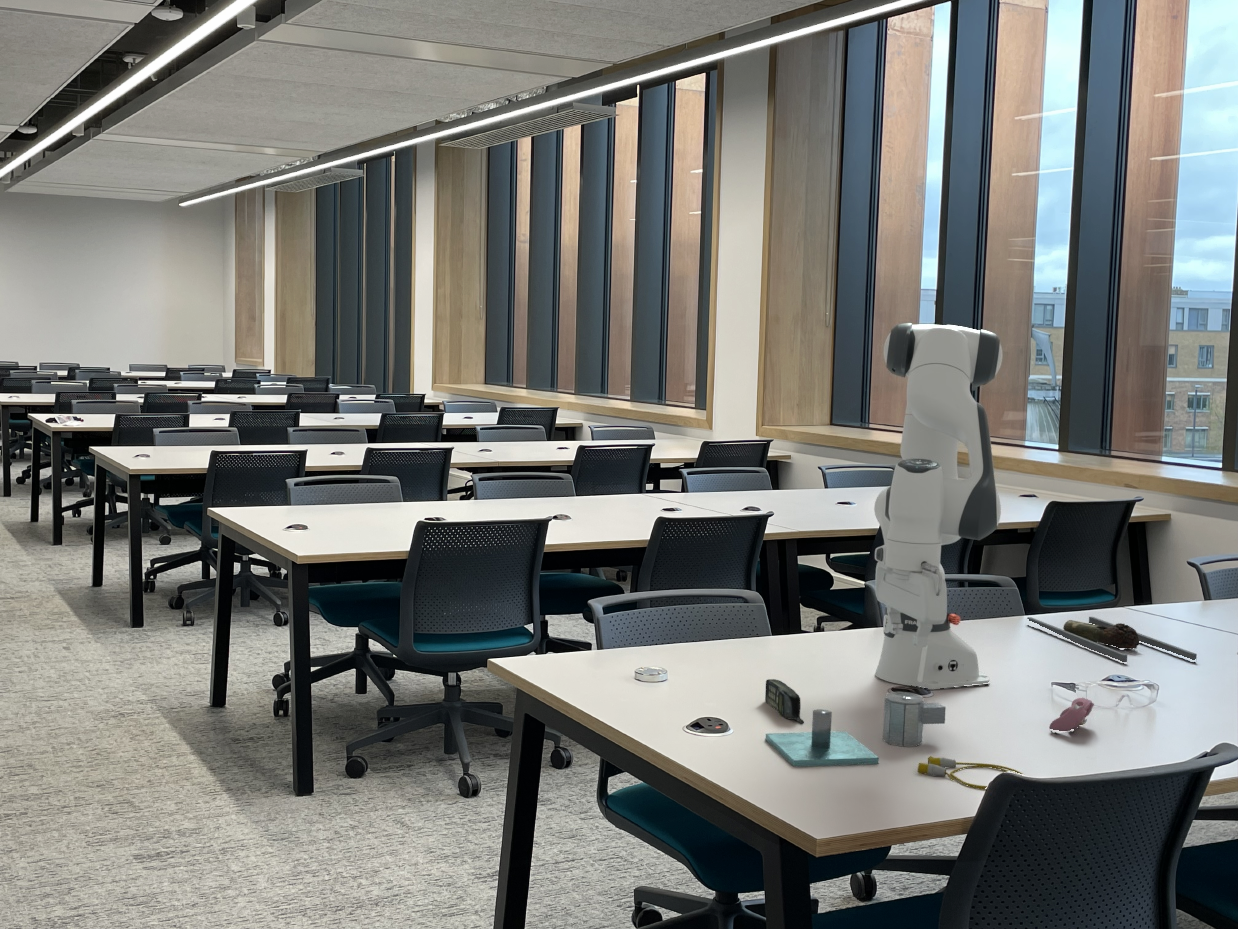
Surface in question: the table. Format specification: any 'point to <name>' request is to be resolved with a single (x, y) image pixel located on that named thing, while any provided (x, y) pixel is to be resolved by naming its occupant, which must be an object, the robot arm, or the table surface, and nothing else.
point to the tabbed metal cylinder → (908, 718)
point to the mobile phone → (783, 699)
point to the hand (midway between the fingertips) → (907, 639)
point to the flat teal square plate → (821, 745)
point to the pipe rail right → (1149, 640)
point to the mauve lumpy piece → (1073, 715)
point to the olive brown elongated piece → (1105, 633)
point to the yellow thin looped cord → (938, 768)
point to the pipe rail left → (1083, 641)
